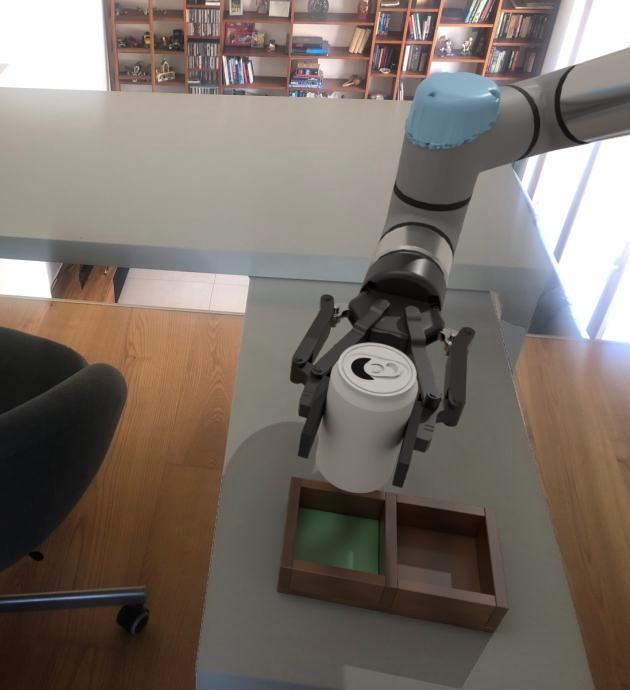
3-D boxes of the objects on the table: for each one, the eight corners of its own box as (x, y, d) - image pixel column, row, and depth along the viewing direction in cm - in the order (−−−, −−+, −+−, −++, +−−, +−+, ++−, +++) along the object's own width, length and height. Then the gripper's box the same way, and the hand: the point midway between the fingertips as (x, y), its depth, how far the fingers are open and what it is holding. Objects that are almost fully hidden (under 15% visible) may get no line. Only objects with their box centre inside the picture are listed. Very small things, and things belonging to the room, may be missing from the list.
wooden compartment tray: (482, 535, 66) (495, 509, 63) (494, 633, 59) (509, 609, 56) (287, 502, 70) (291, 476, 67) (276, 591, 63) (280, 566, 60)
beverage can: (313, 436, 62) (329, 336, 54) (386, 440, 61) (415, 340, 53) (316, 495, 57) (335, 396, 49) (396, 501, 56) (428, 401, 48)
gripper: (501, 337, 66) (476, 532, 51) (303, 291, 72) (226, 453, 57) (526, 273, 61) (506, 469, 45) (311, 229, 67) (229, 389, 51)
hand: (351, 459), depth 51 cm, fingers closed on beverage can, 6 cm apart
